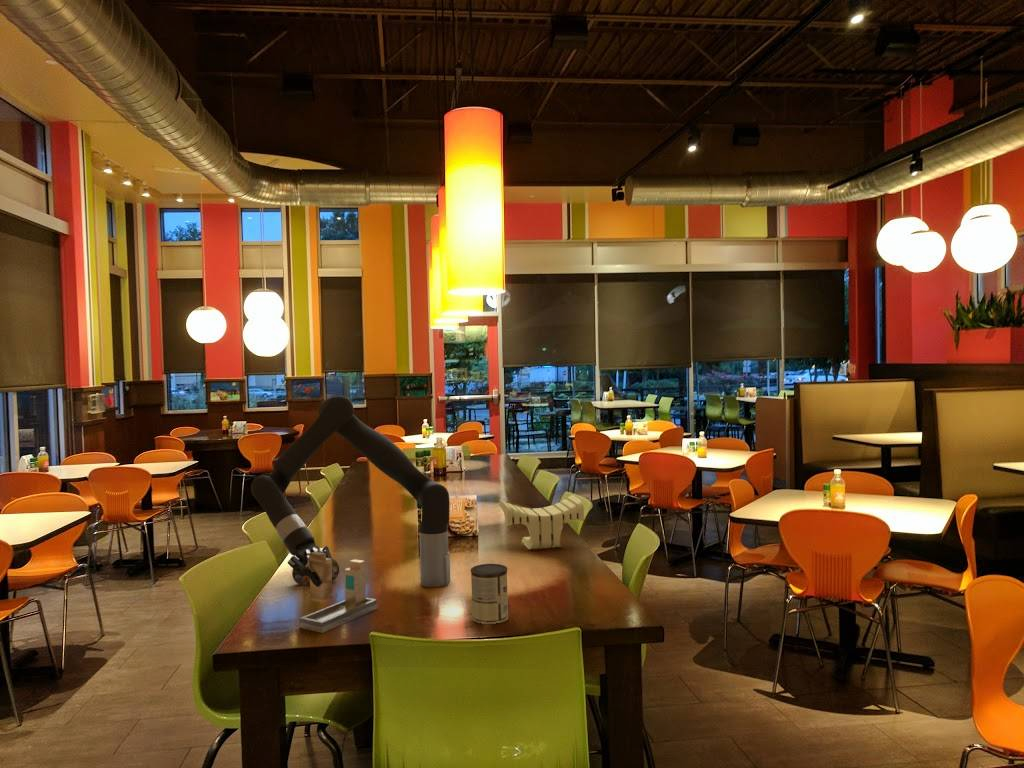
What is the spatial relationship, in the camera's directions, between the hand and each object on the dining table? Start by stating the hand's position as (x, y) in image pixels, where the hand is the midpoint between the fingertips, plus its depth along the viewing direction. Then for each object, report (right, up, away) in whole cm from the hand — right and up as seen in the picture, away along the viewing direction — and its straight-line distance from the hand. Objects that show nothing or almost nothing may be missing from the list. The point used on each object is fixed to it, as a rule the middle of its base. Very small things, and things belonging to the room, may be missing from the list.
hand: (326, 582), depth 201 cm
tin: (-14, -12, +41) cm, 45 cm away
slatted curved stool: (+63, -9, +85) cm, 106 cm away
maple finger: (-2, -5, +1) cm, 5 cm away
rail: (+2, -12, +7) cm, 14 cm away
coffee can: (+45, -11, +4) cm, 47 cm away
